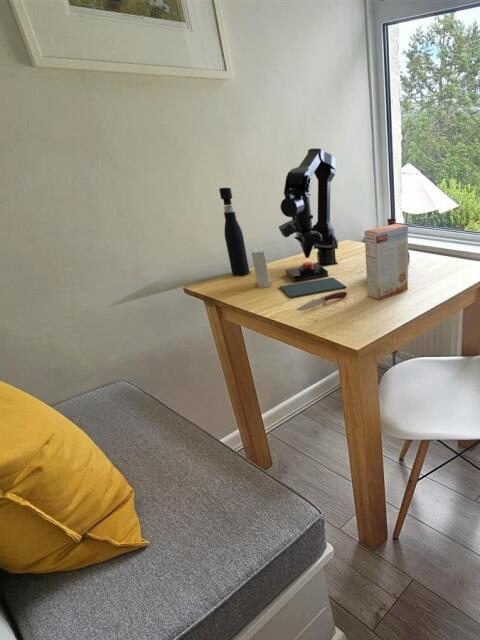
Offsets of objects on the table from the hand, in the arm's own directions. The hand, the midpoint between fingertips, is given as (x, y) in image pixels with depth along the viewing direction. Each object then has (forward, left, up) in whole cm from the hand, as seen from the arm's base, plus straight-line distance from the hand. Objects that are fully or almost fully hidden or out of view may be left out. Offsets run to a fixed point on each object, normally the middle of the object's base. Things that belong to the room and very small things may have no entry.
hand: (307, 257), depth 154 cm
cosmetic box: (+17, 0, -8) cm, 19 cm away
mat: (+3, +12, -7) cm, 14 cm away
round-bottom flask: (-27, +15, -8) cm, 32 cm away
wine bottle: (+21, -18, -8) cm, 29 cm away
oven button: (0, 0, -4) cm, 4 cm away
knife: (+6, +30, -8) cm, 31 cm away
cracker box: (-17, +30, -8) cm, 35 cm away
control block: (0, -2, -7) cm, 8 cm away
